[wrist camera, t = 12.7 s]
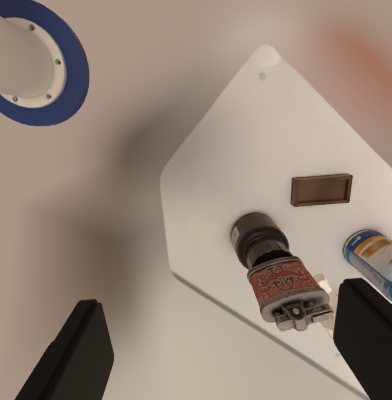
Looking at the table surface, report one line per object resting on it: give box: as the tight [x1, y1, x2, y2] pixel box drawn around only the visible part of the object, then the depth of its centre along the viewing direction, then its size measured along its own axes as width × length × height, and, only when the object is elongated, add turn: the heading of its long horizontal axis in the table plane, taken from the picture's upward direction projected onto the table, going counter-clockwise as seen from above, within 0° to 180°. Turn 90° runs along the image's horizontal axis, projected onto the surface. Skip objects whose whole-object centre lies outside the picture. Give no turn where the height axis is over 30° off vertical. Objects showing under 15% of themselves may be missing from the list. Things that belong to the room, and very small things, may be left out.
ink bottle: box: [231, 213, 293, 270], centre depth 41 cm, size 10×9×12 cm
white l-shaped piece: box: [314, 274, 338, 339], centre depth 46 cm, size 5×10×10 cm, turn 32°
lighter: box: [247, 256, 334, 331], centre depth 30 cm, size 8×3×10 cm, turn 108°
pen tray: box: [291, 174, 353, 207], centre depth 43 cm, size 10×5×2 cm, turn 94°
